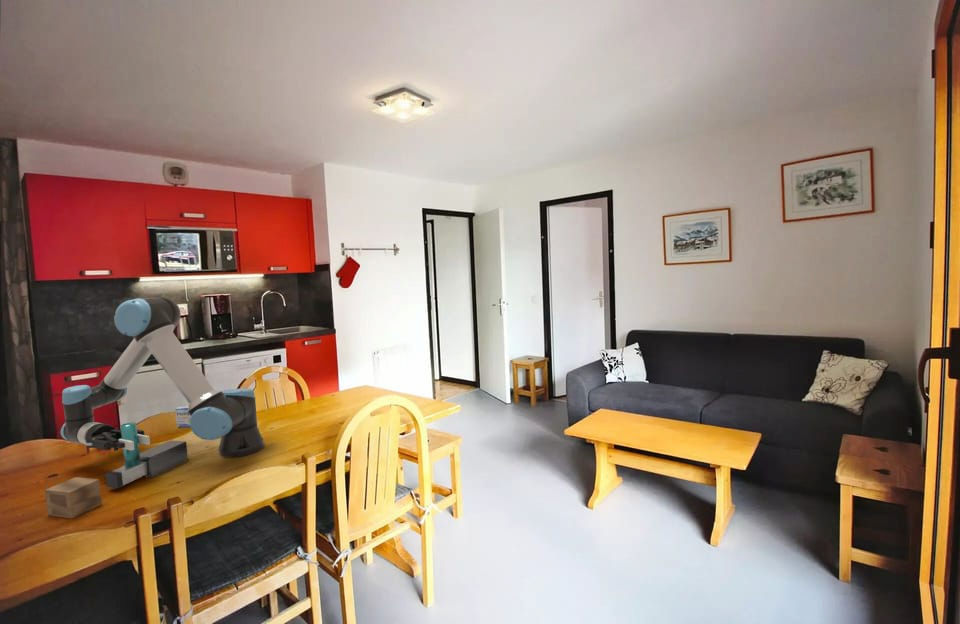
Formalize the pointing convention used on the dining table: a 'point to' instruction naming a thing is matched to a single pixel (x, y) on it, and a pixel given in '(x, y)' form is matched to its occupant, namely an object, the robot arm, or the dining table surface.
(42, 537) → the dining table surface
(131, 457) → the sliding bar with handle
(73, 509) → the socket block
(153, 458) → the sleeve
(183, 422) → the medicine box
